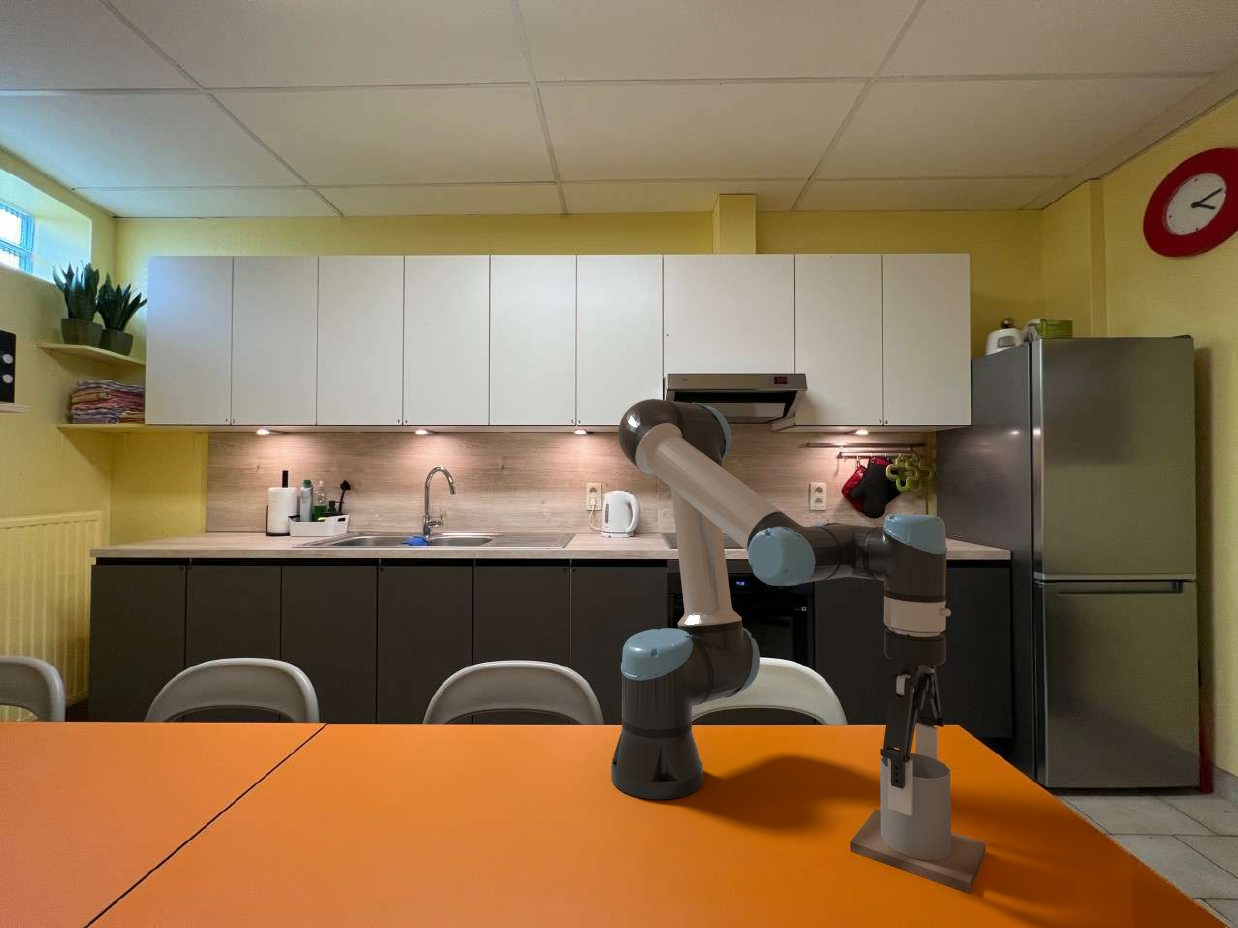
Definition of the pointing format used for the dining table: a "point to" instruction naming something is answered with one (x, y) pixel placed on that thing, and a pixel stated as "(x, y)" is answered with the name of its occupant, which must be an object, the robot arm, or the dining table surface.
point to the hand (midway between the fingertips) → (914, 790)
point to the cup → (920, 811)
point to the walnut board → (947, 871)
